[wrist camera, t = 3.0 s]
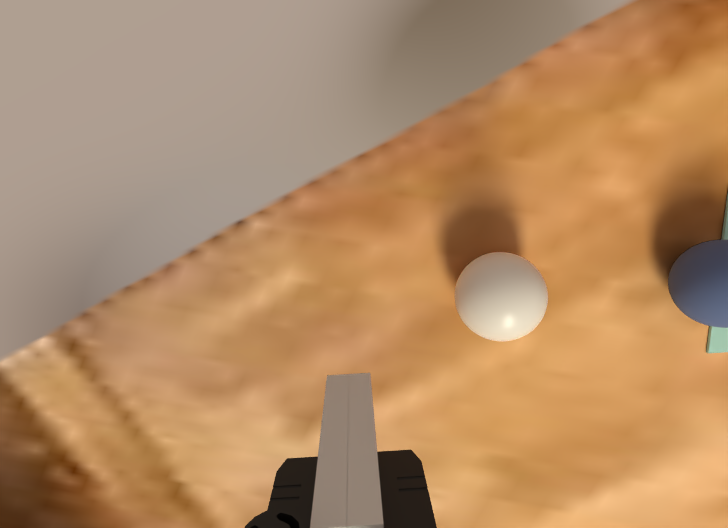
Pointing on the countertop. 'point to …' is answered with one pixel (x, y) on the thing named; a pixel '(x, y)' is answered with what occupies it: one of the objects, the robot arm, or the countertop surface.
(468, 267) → the cue ball
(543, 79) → the countertop surface
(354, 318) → the countertop surface
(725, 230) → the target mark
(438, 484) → the countertop surface
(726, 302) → the object ball
